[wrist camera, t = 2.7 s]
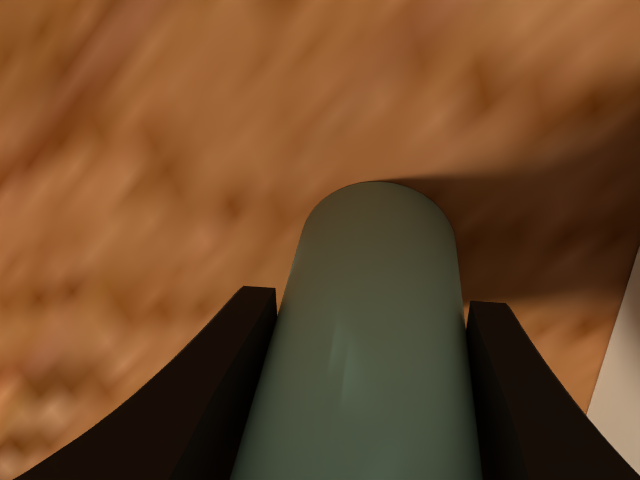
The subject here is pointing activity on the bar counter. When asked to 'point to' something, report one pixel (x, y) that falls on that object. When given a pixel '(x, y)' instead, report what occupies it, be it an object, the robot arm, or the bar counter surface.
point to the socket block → (622, 379)
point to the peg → (367, 350)
